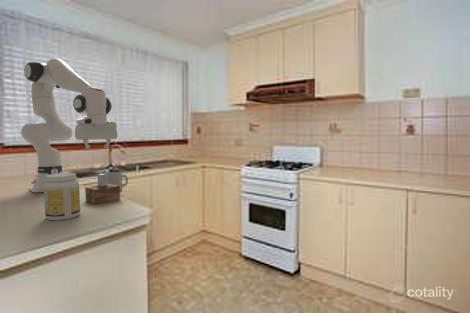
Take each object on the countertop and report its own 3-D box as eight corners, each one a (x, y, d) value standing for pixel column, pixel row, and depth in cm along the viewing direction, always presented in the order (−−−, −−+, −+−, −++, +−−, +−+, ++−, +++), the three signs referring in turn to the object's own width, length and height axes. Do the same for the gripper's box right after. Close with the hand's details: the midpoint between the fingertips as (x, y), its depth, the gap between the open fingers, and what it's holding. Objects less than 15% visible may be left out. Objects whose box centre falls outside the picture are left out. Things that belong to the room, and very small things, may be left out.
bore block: (85, 201, 141) (85, 187, 140) (109, 196, 150) (108, 183, 150) (96, 204, 135) (95, 189, 134) (120, 199, 144) (119, 185, 144)
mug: (108, 194, 156) (107, 174, 156) (104, 191, 163) (103, 172, 162) (130, 191, 164) (129, 172, 163) (125, 189, 171) (125, 170, 170)
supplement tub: (73, 210, 124) (71, 171, 122) (86, 216, 116) (84, 174, 115) (40, 217, 114) (38, 175, 113) (52, 223, 107) (49, 178, 105)
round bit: (96, 196, 142) (95, 174, 141) (104, 195, 145) (103, 173, 144) (101, 197, 139) (100, 175, 138) (109, 196, 143) (108, 174, 142)
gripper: (113, 121, 153) (113, 147, 155) (72, 119, 137) (73, 148, 138) (119, 121, 150) (120, 148, 151) (78, 120, 133) (79, 149, 135)
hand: (97, 148), depth 145 cm, fingers open, 8 cm apart
